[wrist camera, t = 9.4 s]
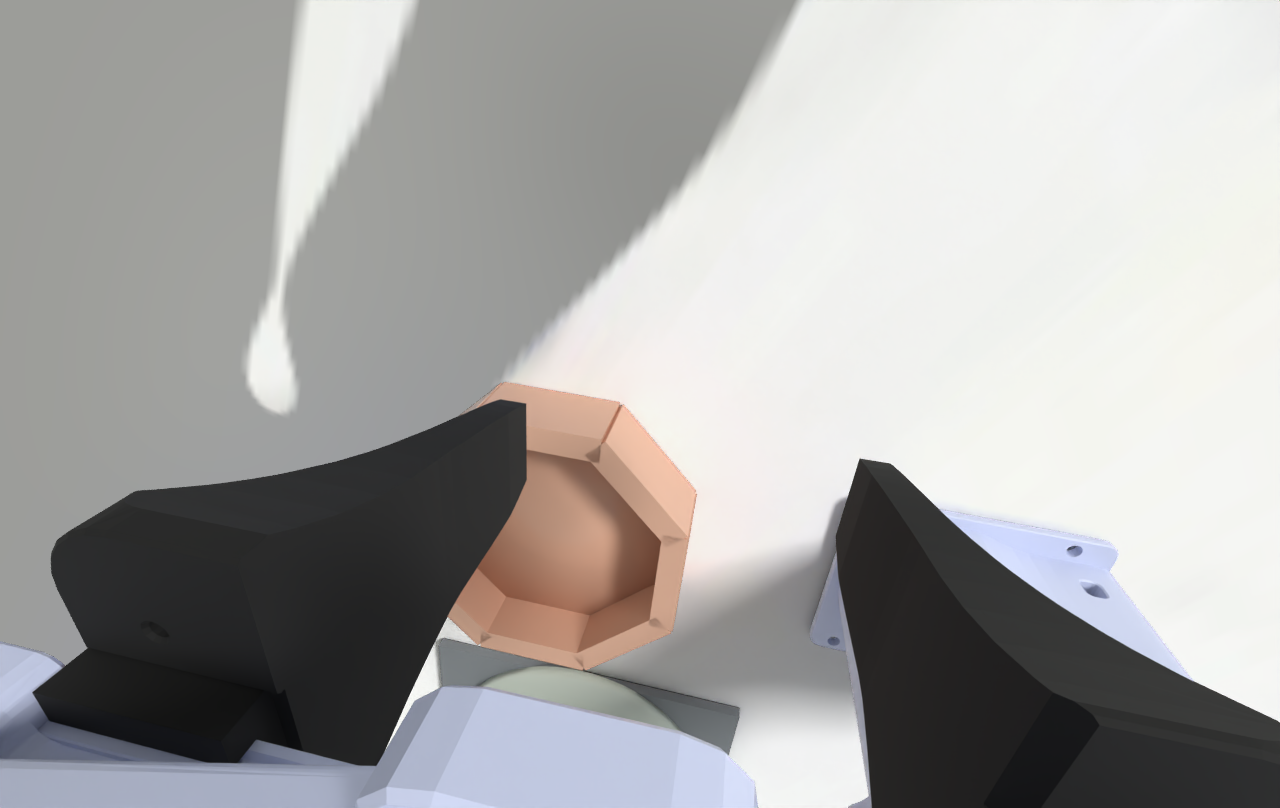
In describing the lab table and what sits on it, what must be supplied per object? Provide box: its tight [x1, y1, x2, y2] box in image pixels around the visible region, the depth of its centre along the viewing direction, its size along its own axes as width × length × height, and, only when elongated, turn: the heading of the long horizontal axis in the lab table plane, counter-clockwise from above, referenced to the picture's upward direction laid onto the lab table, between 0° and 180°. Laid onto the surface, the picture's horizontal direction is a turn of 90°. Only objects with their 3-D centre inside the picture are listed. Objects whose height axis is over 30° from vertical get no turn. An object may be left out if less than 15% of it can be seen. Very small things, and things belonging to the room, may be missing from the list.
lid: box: [479, 666, 681, 731], centre depth 31 cm, size 14×14×4 cm
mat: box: [439, 638, 740, 755], centre depth 33 cm, size 16×13×1 cm
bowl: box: [448, 382, 697, 671], centre depth 25 cm, size 12×12×3 cm
